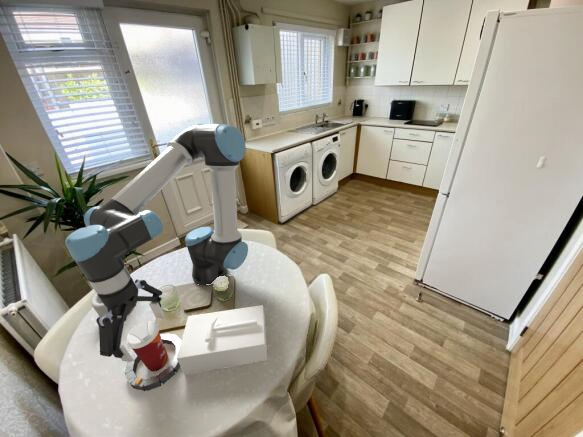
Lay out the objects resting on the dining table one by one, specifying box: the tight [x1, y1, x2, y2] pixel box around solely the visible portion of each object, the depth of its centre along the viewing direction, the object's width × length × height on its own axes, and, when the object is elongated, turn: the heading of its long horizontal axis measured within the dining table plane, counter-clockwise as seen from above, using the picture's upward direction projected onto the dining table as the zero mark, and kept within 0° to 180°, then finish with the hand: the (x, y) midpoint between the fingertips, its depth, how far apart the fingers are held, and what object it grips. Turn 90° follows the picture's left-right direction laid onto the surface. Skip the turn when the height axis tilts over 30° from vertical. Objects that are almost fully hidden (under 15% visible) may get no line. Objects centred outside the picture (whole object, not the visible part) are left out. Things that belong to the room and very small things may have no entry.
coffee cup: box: [126, 320, 169, 373], centre depth 72 cm, size 8×8×15 cm
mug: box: [90, 293, 135, 323], centre depth 92 cm, size 14×11×10 cm
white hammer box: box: [177, 304, 268, 375], centre depth 77 cm, size 14×25×11 cm, turn 98°
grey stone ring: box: [124, 333, 182, 392], centre depth 75 cm, size 16×16×3 cm
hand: (145, 336), depth 70 cm, fingers open, 13 cm apart
